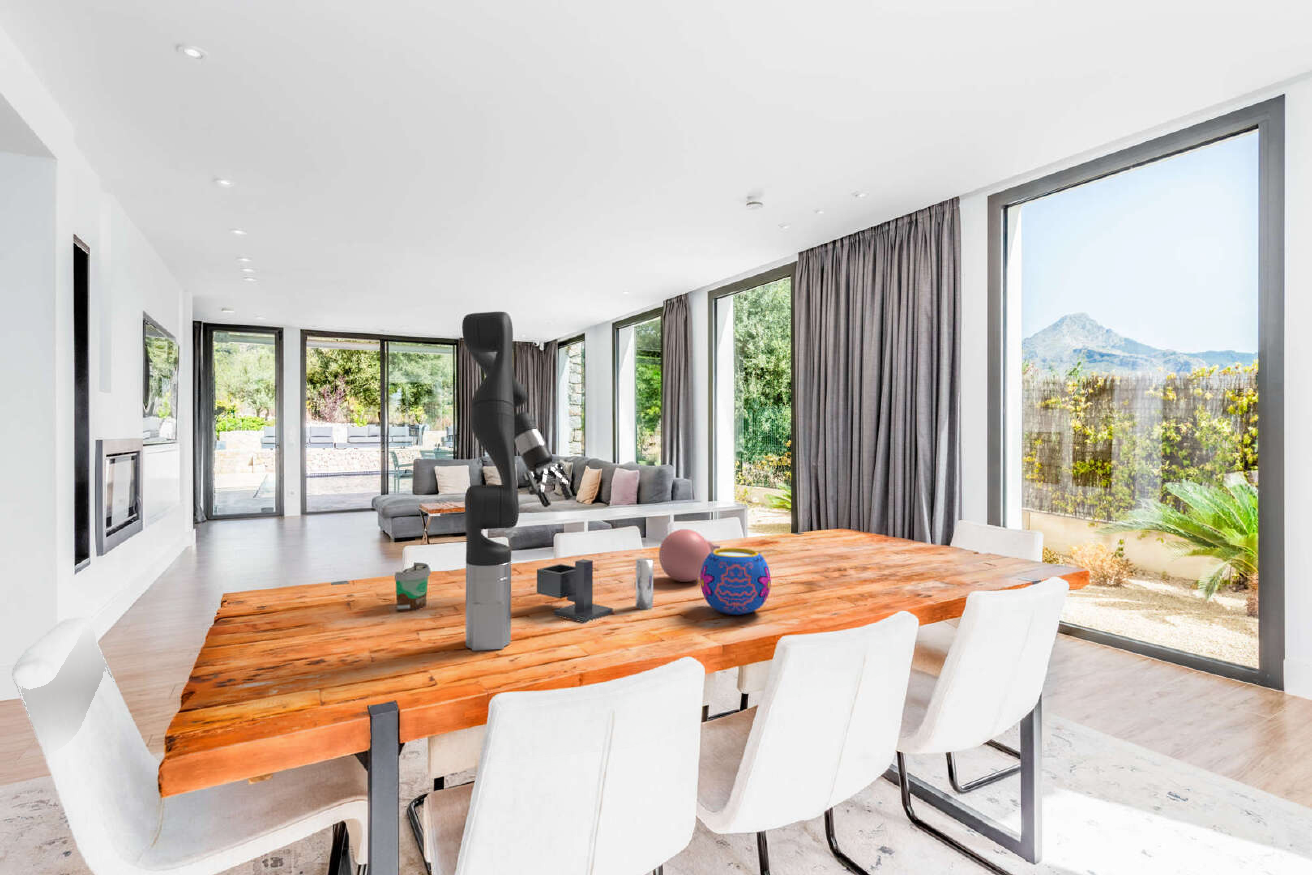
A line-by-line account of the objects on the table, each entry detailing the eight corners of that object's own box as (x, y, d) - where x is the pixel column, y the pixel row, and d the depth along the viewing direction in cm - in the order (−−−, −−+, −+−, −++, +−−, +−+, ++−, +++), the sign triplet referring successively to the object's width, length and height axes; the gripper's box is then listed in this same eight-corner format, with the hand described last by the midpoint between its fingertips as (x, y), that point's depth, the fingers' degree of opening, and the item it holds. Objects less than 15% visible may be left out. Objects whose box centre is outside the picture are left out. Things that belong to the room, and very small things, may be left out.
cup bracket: (612, 613, 157) (613, 560, 157) (584, 622, 149) (585, 567, 149) (562, 601, 168) (562, 551, 167) (534, 610, 159) (534, 557, 159)
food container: (419, 614, 155) (419, 572, 155) (394, 613, 155) (394, 572, 155) (438, 600, 168) (438, 562, 168) (414, 600, 168) (414, 562, 168)
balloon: (733, 583, 189) (734, 531, 189) (672, 589, 181) (672, 535, 181) (708, 572, 203) (709, 523, 203) (650, 577, 195) (651, 527, 195)
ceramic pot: (767, 603, 167) (768, 546, 167) (773, 624, 150) (774, 560, 149) (700, 601, 169) (701, 544, 169) (698, 621, 151) (699, 557, 151)
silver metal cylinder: (654, 608, 161) (655, 561, 161) (637, 609, 160) (638, 562, 160) (650, 604, 166) (651, 557, 166) (634, 605, 165) (634, 558, 165)
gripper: (522, 447, 168) (549, 503, 165) (559, 439, 179) (585, 490, 177) (506, 460, 172) (532, 514, 169) (543, 451, 183) (568, 501, 181)
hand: (559, 502), depth 173 cm, fingers open, 8 cm apart
